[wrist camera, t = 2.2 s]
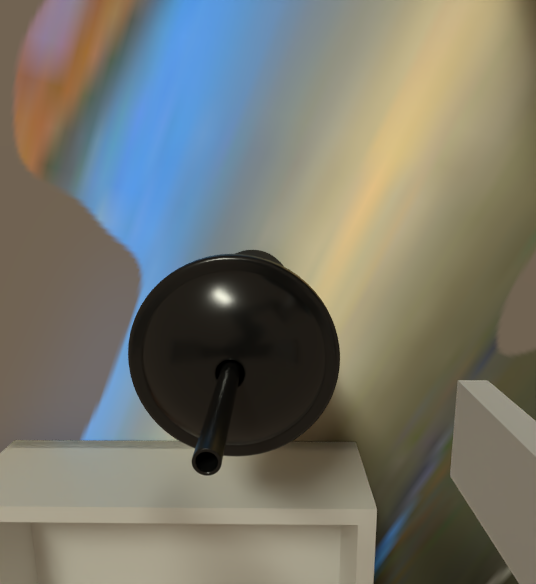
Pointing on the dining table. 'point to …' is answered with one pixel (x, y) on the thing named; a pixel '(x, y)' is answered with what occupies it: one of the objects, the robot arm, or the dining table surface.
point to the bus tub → (184, 515)
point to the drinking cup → (233, 356)
